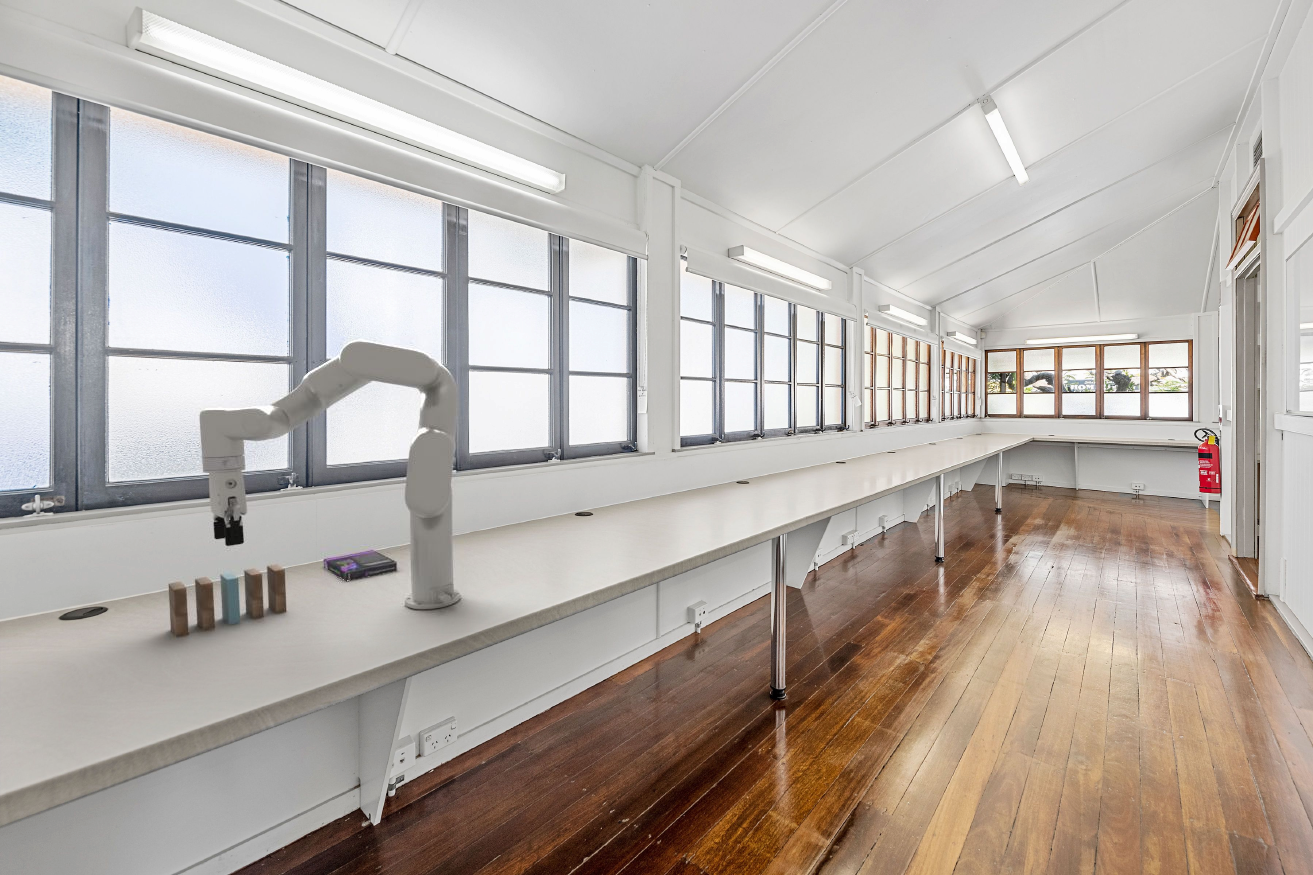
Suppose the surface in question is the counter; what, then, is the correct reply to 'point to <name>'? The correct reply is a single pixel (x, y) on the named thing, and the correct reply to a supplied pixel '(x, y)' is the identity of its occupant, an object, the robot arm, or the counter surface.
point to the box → (360, 565)
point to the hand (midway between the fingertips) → (228, 541)
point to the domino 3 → (230, 598)
